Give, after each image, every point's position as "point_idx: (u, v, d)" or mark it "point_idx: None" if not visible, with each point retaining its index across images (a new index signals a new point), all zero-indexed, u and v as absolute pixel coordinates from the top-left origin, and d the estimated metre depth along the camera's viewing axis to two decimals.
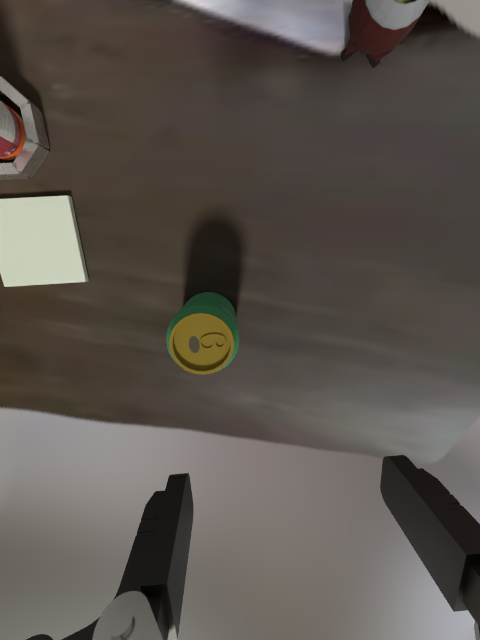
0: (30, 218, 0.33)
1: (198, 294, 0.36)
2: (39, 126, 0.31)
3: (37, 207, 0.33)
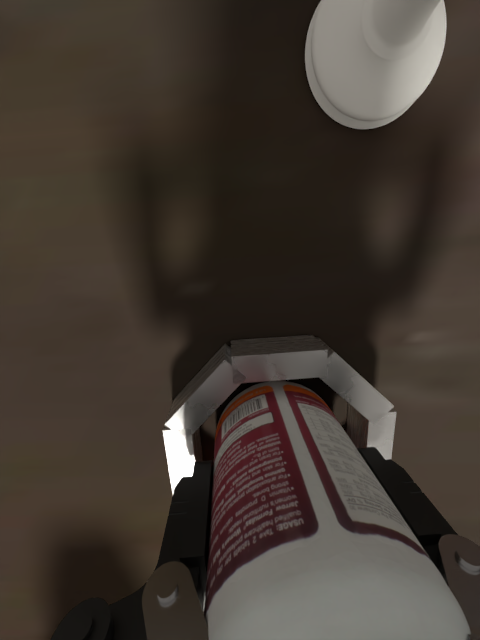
0: None
1: None
2: None
3: None
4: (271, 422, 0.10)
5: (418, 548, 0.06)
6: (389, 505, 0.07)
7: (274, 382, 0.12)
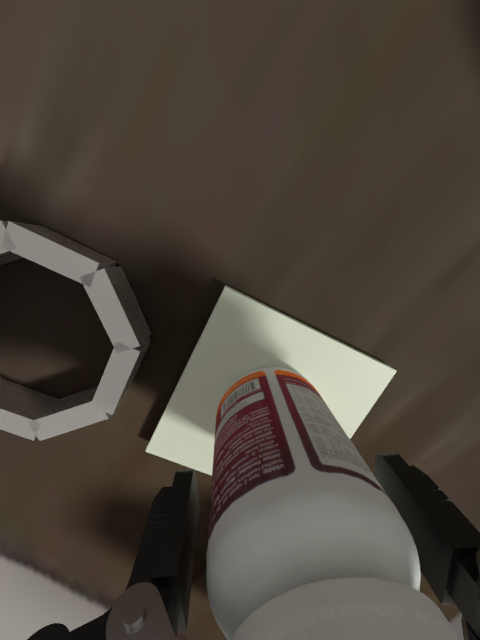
0: (223, 389, 0.15)
1: None
2: (65, 242, 0.12)
3: (211, 363, 0.14)
4: (262, 399, 0.11)
5: (376, 486, 0.08)
6: (357, 458, 0.09)
7: (266, 368, 0.14)
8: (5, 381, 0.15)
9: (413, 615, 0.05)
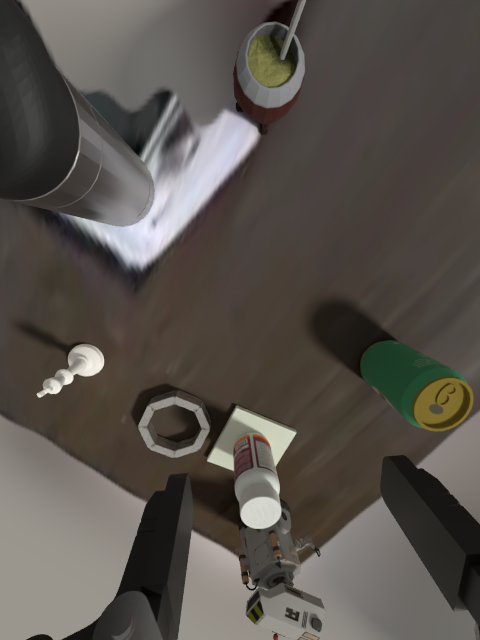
0: (235, 439, 0.42)
1: (365, 363, 0.38)
2: (188, 398, 0.39)
3: (231, 431, 0.42)
4: (248, 447, 0.38)
5: (271, 470, 0.35)
6: (269, 464, 0.36)
7: (250, 433, 0.41)
8: (159, 436, 0.42)
9: (268, 489, 0.32)
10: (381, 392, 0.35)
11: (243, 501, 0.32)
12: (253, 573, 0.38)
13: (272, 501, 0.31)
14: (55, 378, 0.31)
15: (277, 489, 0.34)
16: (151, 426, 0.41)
